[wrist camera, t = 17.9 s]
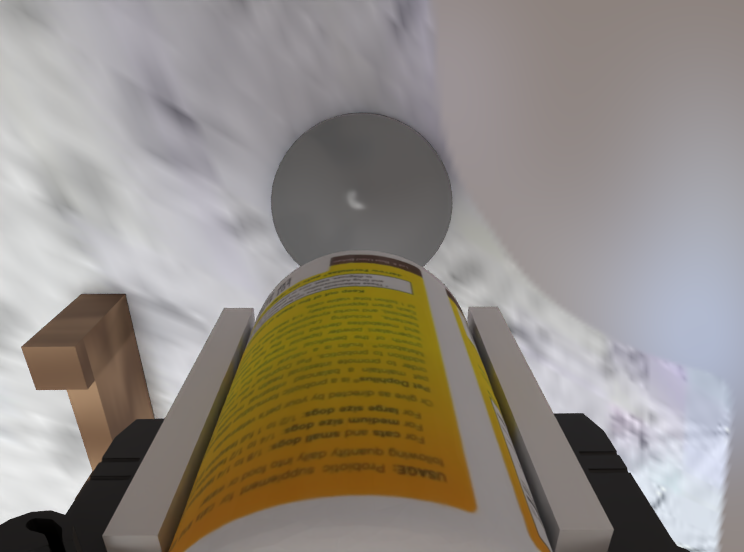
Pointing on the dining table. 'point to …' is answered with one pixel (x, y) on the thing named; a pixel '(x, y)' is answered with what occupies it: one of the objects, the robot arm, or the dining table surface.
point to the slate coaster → (361, 191)
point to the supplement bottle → (360, 426)
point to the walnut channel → (93, 368)
